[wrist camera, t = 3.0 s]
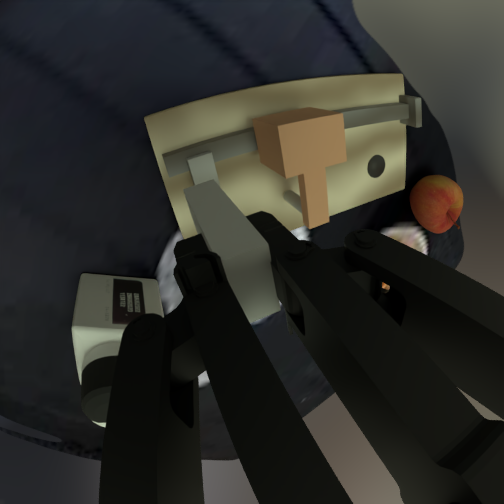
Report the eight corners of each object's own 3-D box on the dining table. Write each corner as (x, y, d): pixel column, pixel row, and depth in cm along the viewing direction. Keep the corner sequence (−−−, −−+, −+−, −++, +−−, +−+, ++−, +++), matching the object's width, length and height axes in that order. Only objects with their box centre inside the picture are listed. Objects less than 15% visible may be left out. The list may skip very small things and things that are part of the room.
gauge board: (143, 116, 20) (144, 120, 17) (395, 73, 25) (419, 76, 22) (191, 260, 28) (199, 281, 25) (397, 185, 33) (418, 196, 30)
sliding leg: (246, 117, 21) (277, 126, 17) (302, 105, 22) (342, 113, 18) (264, 209, 26) (294, 239, 22) (313, 193, 27) (348, 218, 23)
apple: (431, 159, 33) (478, 180, 27) (431, 204, 37) (471, 229, 31) (397, 176, 32) (447, 202, 26) (399, 224, 37) (441, 253, 30)
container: (80, 271, 24) (65, 386, 14) (158, 277, 28) (182, 390, 17) (83, 330, 27) (81, 437, 17) (150, 334, 31) (170, 438, 20)
